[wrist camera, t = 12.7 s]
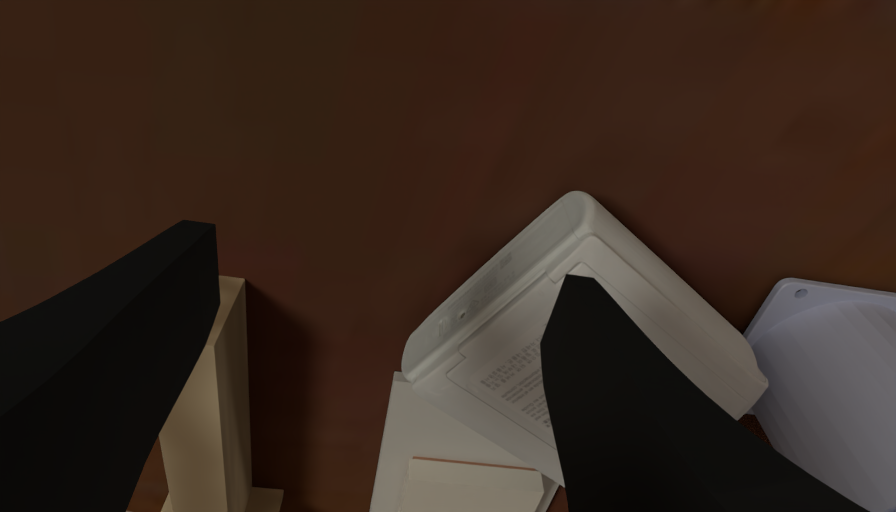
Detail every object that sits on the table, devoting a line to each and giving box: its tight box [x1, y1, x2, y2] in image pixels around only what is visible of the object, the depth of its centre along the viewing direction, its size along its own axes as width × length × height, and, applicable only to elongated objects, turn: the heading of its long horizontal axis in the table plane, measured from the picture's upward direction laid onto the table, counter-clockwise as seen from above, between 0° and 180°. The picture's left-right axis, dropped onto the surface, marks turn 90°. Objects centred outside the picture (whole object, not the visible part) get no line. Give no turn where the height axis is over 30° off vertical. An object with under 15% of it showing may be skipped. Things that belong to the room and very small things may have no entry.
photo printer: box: [402, 191, 769, 487], centre depth 23 cm, size 10×4×12 cm
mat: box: [369, 371, 559, 512], centre depth 31 cm, size 10×14×1 cm
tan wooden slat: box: [159, 276, 284, 512], centre depth 26 cm, size 6×16×4 cm, turn 170°
